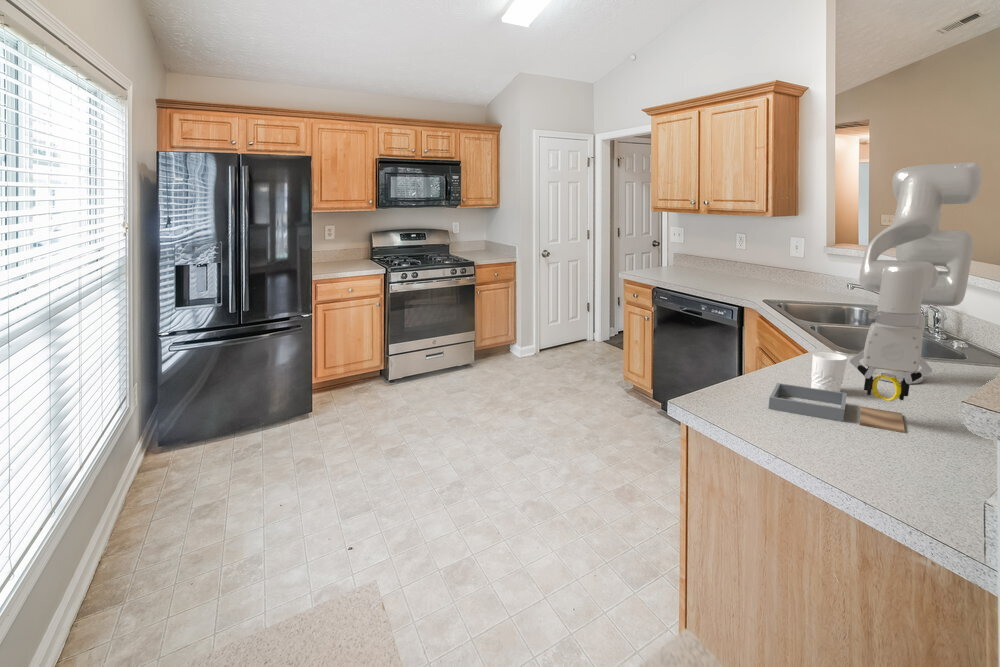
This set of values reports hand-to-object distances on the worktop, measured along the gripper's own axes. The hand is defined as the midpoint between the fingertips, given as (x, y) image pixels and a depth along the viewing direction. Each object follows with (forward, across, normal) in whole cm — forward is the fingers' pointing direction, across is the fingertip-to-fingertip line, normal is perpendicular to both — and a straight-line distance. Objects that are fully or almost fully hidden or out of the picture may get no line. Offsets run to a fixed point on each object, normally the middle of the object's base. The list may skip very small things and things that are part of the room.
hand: (884, 395), depth 116 cm
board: (+6, 0, 0) cm, 6 cm away
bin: (+6, -15, +1) cm, 16 cm away
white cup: (+6, -12, +17) cm, 22 cm away
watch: (+1, 0, 0) cm, 1 cm away
